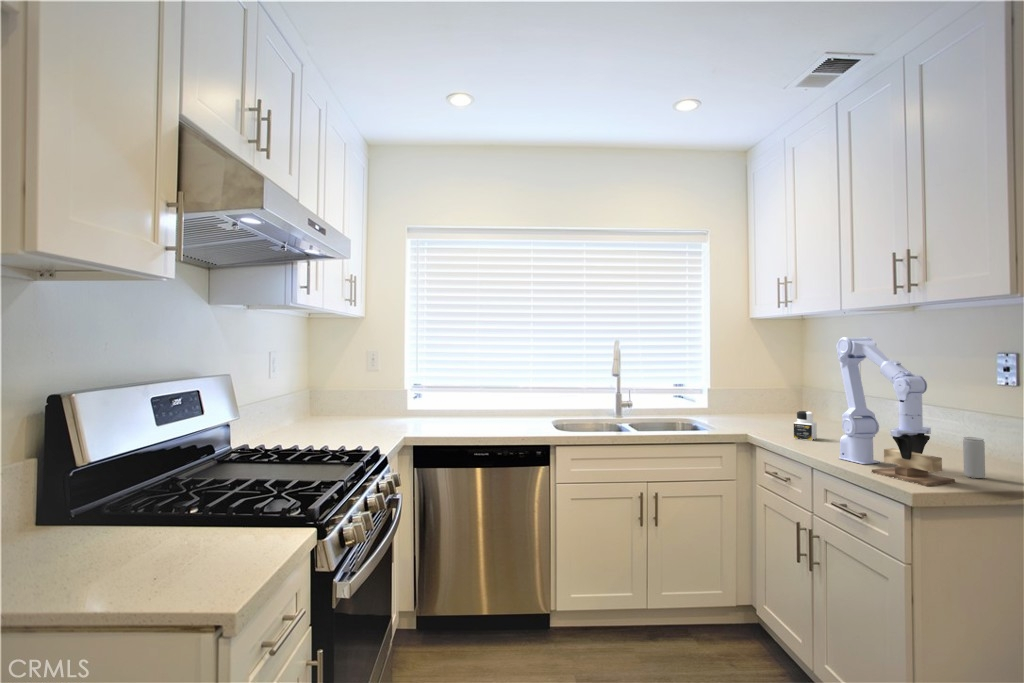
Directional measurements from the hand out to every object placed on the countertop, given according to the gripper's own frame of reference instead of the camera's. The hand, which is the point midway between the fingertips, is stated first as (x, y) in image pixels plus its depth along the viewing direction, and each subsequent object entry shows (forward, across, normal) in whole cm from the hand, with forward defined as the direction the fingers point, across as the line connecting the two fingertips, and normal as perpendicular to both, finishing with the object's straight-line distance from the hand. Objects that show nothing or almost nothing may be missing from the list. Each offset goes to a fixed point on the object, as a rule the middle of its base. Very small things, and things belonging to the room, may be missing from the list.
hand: (911, 458), depth 150 cm
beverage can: (+6, +18, -6) cm, 20 cm away
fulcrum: (+6, 0, 0) cm, 6 cm away
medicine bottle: (+6, +22, +58) cm, 62 cm away
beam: (+2, 0, 0) cm, 2 cm away
